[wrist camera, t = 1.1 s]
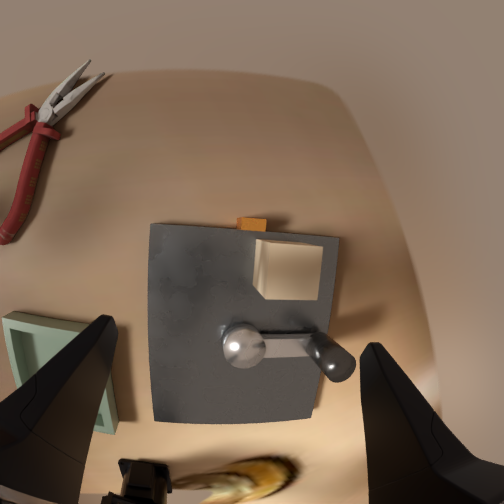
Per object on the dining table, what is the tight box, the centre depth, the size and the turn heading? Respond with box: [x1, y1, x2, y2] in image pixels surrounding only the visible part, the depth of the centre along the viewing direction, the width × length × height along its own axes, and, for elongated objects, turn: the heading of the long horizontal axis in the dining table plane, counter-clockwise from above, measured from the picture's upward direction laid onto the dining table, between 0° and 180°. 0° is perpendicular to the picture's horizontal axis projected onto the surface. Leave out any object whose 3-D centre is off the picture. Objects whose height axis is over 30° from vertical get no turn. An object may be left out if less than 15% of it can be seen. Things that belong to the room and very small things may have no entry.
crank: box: [222, 324, 356, 382], centre depth 23 cm, size 10×4×6 cm, turn 86°
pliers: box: [0, 59, 105, 245], centre depth 21 cm, size 12×20×3 cm, turn 136°
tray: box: [2, 311, 119, 435], centre depth 23 cm, size 12×12×2 cm
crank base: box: [148, 217, 339, 424], centre depth 26 cm, size 21×17×3 cm
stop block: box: [253, 239, 323, 300], centre depth 23 cm, size 4×4×5 cm
